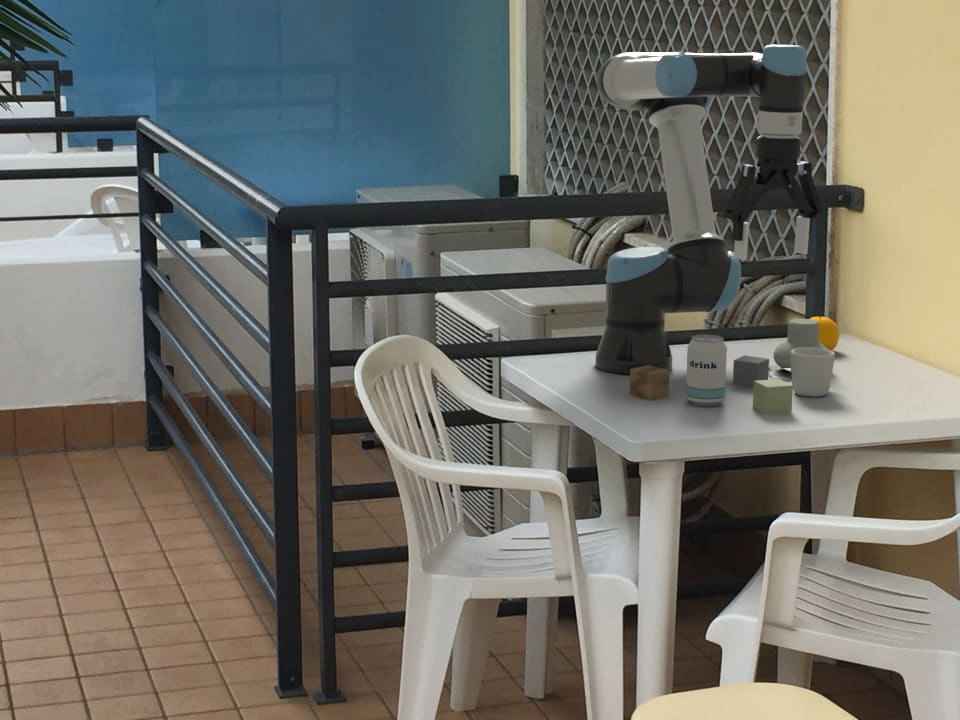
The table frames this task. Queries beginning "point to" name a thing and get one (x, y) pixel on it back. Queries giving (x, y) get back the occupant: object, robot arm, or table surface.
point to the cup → (811, 370)
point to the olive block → (772, 396)
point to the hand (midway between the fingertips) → (770, 256)
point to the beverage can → (706, 370)
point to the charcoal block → (749, 371)
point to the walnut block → (649, 382)
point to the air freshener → (797, 340)
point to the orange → (827, 332)
